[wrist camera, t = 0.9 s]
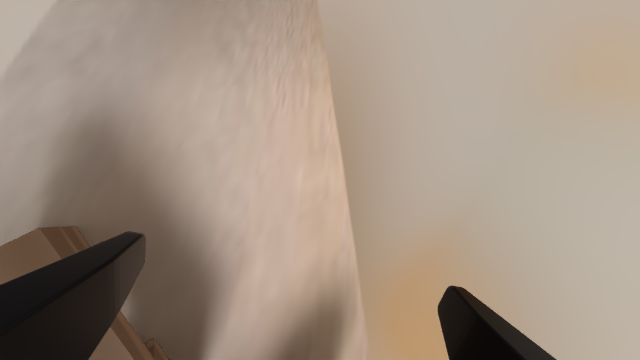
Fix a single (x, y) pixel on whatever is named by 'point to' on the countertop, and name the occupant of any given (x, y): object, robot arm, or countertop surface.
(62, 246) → the cross plate
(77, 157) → the countertop surface
